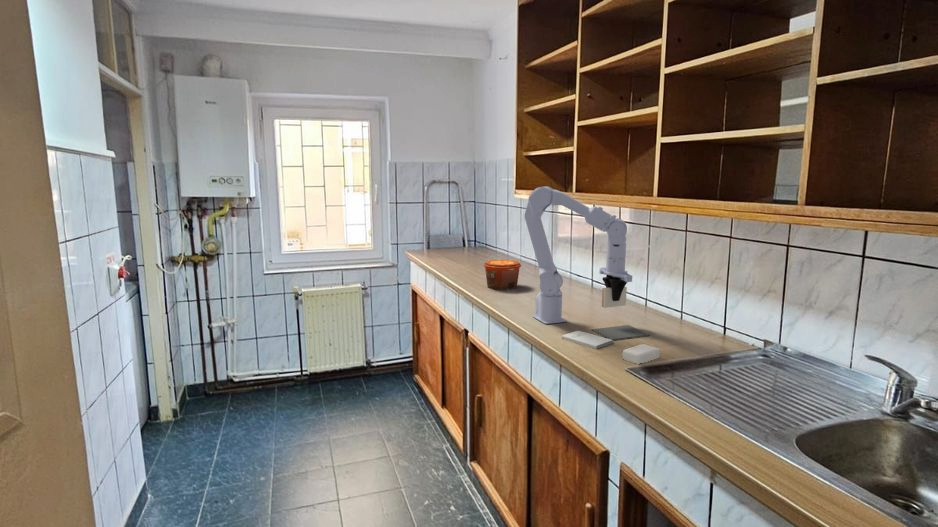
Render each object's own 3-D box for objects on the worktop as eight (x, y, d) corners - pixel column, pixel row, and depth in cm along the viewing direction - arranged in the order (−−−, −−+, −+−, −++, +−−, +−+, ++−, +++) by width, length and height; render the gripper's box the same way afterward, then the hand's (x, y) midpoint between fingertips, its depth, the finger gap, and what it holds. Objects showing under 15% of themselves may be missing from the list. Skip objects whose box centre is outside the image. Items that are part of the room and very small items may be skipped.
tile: (601, 306, 164) (602, 288, 163) (622, 304, 167) (623, 286, 166) (604, 307, 163) (605, 289, 162) (625, 305, 166) (626, 287, 164)
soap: (638, 366, 132) (639, 355, 131) (621, 360, 136) (621, 349, 136) (660, 359, 137) (661, 348, 136) (643, 353, 141) (643, 342, 141)
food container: (502, 281, 234) (503, 257, 232) (528, 287, 222) (528, 262, 220) (476, 286, 224) (476, 261, 222) (501, 292, 212) (501, 267, 210)
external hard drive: (596, 351, 144) (561, 340, 153) (613, 345, 149) (578, 334, 159) (596, 345, 144) (561, 335, 153) (613, 339, 149) (578, 329, 158)
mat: (591, 330, 161) (591, 329, 161) (628, 326, 165) (628, 324, 165) (611, 340, 151) (611, 339, 151) (649, 335, 155) (649, 334, 155)
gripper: (641, 260, 157) (639, 304, 159) (613, 253, 170) (611, 293, 173) (621, 262, 154) (619, 306, 157) (594, 254, 168) (593, 295, 170)
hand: (614, 300), depth 165 cm, fingers closed on tile, 1 cm apart
